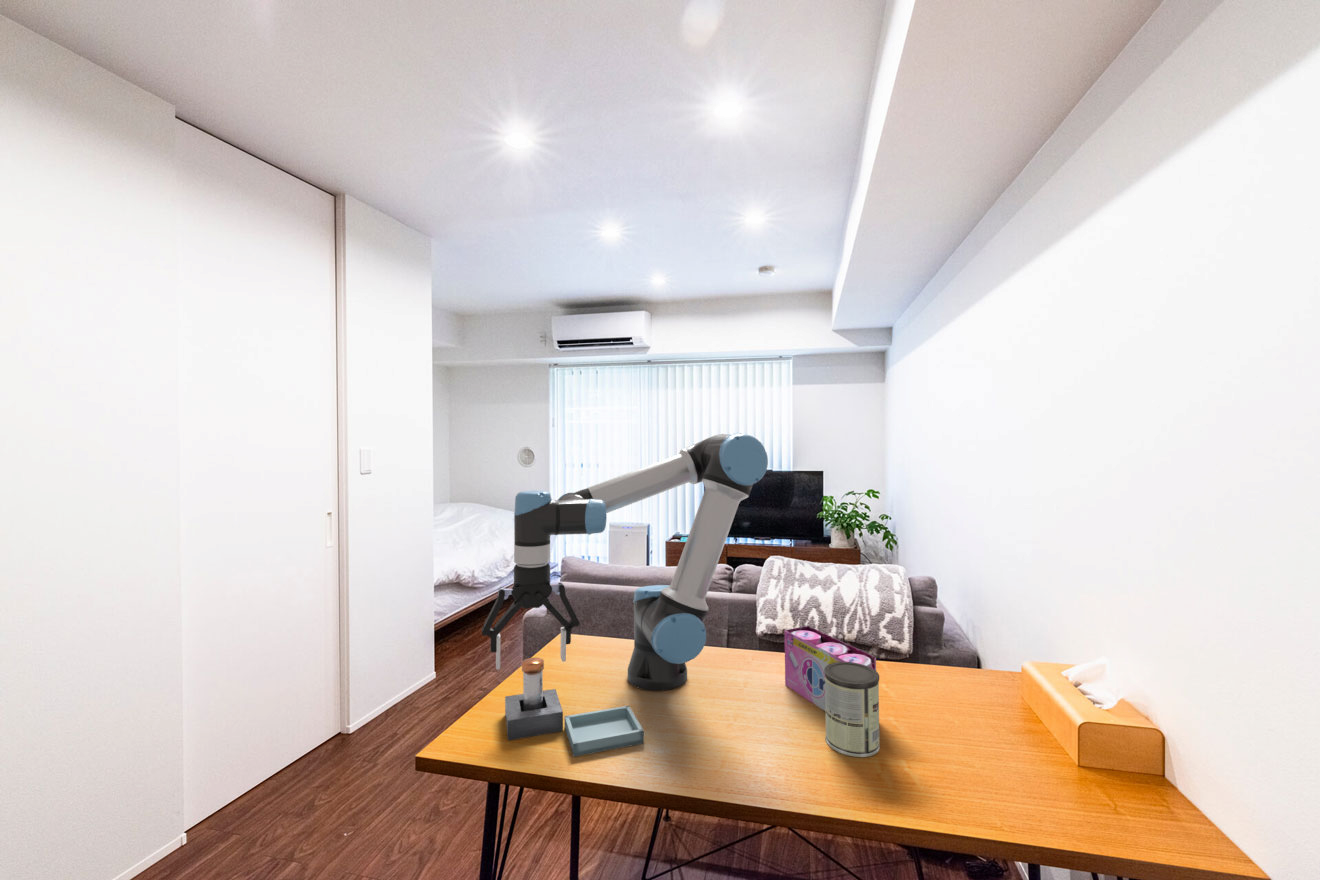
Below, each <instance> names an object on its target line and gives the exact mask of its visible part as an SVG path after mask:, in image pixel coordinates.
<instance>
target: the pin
mask: <svg viewBox="0 0 1320 880" xmlns="http://www.w3.org/2000/svg"><path fill="white" fill-rule="evenodd" d="M544 669H545V660H544V659H543V658H541V657H529V658H526V659H523V660H522V662H521V671H522V674H523V676H522V677H523V678H522V679H523V684H522V685H523V687H522V688H523V691H522V692H523V693H522V694H523V700H524V711H530V710H536V709H542V708H543V691H544V690H543V684H544V683H543V676H544V675H543V670H544Z"/></svg>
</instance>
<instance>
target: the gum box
mask: <svg viewBox="0 0 1320 880" xmlns="http://www.w3.org/2000/svg"><path fill="white" fill-rule="evenodd" d="M836 662H852V663H858V664H862V665H865V666H868V667H870V668H872V669H874V670H875V671H877V657H876V656H874V655H872V654H870V653H868V652H867V651H864V650H862V649H859V648H857V647H855V646H853V645H851V644H849V643H846V642H844V641H841V640H839V639H837V638H835V637H833V636H831V635H829V634H826V633H824V632H822V631H821V630H818V629H816V628H814V627H812V626H810V625H806V626H801V627H800V626H799V627H794V628H789V629H784V685H785V686H787V687H788V688H790V689H791V690H792V691H794V692H795V693H797V694H798V695H800V696H801V697H803V698H804V699H806V700H807V701H808V702H810V703H811V704H813V705H816V706H817V708H819V709H820V710H822V711H824V712H826V711H825V673H824V669H825V667H826V666H827V665H829V664H831V663H836Z"/></svg>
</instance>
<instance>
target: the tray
mask: <svg viewBox="0 0 1320 880" xmlns="http://www.w3.org/2000/svg"><path fill="white" fill-rule="evenodd" d="M564 730H565V734H566V737H567V740H568V744H569V746H570V750H571V752H572V757H579V756H585V755H590V754H595V753H600V752H605V751H611V750H617V749H622V748H626V747H631V746H637V745H642V744H645V730H644V729H643V726H642V725H641V724H640V722H639V719H638V718H637V716H636V715H635V713H634V711H633V709H632V708H631V707H630V705H624V706H623V705H622V706H618V707H611V708H606V709H600V710H595V711H589V712H588V711H587V712H582V713H576V714H571V715H564Z"/></svg>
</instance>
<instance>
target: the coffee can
mask: <svg viewBox="0 0 1320 880" xmlns="http://www.w3.org/2000/svg"><path fill="white" fill-rule="evenodd" d="M824 673H825V711H824V712H825V742H826V745H828V746H829V747H830V749H832V750H833V751H835V752H837V753H838V754H842V755H844V756H848V757H853V758H868V757H872V756H874V755H876V754H878V753H879V751H880V750H881V749H880V748H881V745H880V695H879V694H880V692H879V689H880V688H879V687H880V686H879V685H880V684H879V683H880V674H879V673H878V671H877V670H876V671H875V670H874V669H872V668H870V667H868V666H865V665H862V664H858V663H852V662H836V663H831V664H829V665H827V666H826V667H825V669H824Z"/></svg>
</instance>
